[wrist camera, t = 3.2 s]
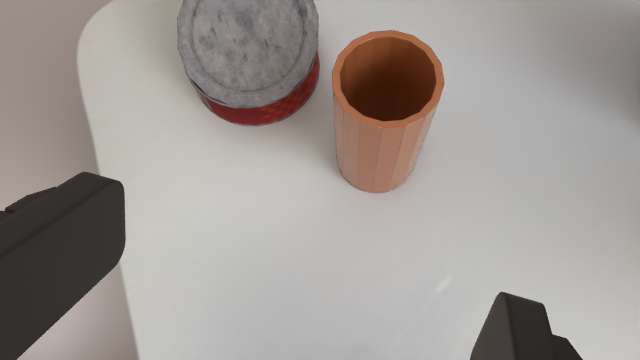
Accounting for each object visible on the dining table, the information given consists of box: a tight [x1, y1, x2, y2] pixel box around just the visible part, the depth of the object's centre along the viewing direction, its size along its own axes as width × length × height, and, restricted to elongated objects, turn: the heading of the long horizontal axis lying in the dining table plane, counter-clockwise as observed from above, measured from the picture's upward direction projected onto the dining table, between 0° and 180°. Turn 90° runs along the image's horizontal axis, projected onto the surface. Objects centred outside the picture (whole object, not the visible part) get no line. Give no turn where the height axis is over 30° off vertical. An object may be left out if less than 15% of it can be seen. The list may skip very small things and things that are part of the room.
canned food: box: [177, 0, 320, 126], centre depth 35 cm, size 11×10×10 cm
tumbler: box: [332, 30, 444, 193], centre depth 29 cm, size 6×6×11 cm
